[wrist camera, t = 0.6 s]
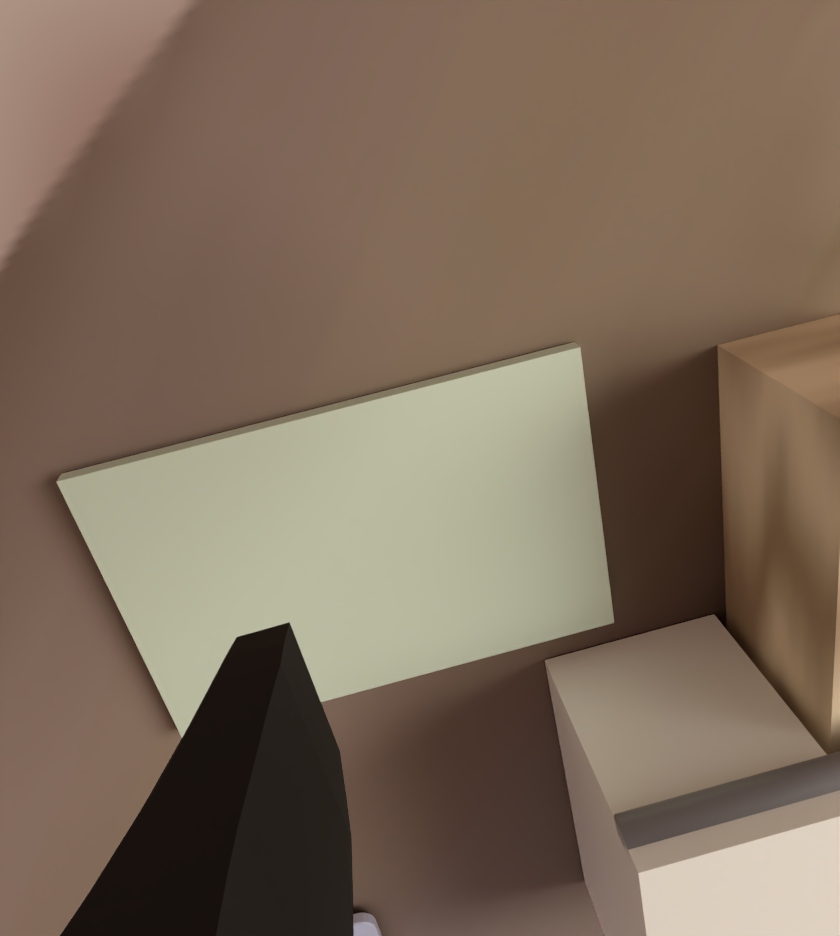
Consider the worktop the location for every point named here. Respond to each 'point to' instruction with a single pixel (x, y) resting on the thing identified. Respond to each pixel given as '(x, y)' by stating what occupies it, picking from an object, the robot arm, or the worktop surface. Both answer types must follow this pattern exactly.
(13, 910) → the worktop surface
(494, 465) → the mat
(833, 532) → the wooden block
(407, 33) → the worktop surface
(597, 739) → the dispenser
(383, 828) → the worktop surface
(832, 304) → the worktop surface
